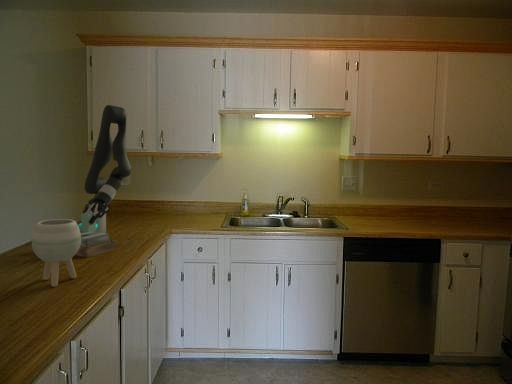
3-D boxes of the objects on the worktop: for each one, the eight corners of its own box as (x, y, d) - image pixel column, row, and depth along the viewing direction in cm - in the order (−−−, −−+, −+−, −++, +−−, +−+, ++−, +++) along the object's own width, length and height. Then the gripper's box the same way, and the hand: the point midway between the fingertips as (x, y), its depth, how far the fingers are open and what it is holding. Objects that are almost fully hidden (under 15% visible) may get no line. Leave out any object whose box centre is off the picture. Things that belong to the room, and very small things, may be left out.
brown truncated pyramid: (61, 252, 183) (60, 236, 182) (90, 245, 198) (89, 229, 198) (87, 257, 176) (87, 240, 175) (115, 249, 191) (115, 233, 191)
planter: (88, 275, 152) (87, 218, 150) (70, 289, 136) (69, 226, 134) (46, 274, 151) (45, 217, 149) (23, 288, 135) (21, 225, 133)
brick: (81, 231, 185) (81, 213, 184) (89, 229, 189) (88, 212, 188) (88, 232, 183) (87, 214, 182) (95, 230, 187) (95, 213, 187)
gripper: (90, 190, 195) (70, 217, 185) (112, 191, 189) (92, 219, 179) (99, 199, 200) (80, 226, 190) (120, 201, 194) (101, 229, 184)
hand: (86, 223), depth 185 cm, fingers closed on brick, 4 cm apart
